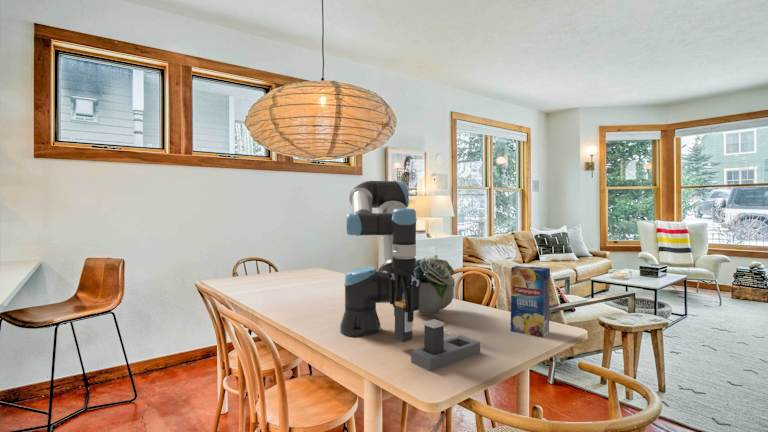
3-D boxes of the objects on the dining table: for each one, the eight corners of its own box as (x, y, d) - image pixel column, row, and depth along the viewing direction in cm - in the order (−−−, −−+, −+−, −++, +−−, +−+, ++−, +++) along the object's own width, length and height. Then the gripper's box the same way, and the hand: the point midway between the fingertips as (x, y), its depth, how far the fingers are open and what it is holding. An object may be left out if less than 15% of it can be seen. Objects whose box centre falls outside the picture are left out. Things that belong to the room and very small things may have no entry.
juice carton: (549, 332, 151) (550, 268, 150) (543, 337, 145) (544, 270, 144) (517, 326, 158) (517, 265, 158) (510, 331, 153) (511, 267, 152)
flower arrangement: (440, 325, 159) (440, 263, 158) (388, 314, 174) (389, 257, 173) (468, 311, 179) (468, 256, 178) (419, 303, 194) (420, 252, 193)
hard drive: (466, 337, 142) (438, 329, 151) (451, 343, 136) (423, 334, 145) (466, 342, 142) (438, 333, 151) (451, 348, 136) (423, 338, 145)
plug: (394, 338, 131) (394, 302, 131) (404, 335, 134) (404, 299, 133) (402, 342, 128) (403, 304, 127) (412, 339, 131) (412, 302, 130)
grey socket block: (411, 365, 120) (411, 350, 120) (460, 349, 134) (460, 335, 134) (430, 374, 114) (430, 358, 114) (480, 356, 128) (480, 342, 128)
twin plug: (424, 361, 121) (424, 321, 120) (433, 358, 123) (434, 319, 123) (433, 366, 118) (434, 325, 117) (443, 362, 120) (444, 322, 120)
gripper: (378, 254, 134) (378, 324, 135) (413, 261, 120) (412, 339, 122) (395, 252, 138) (395, 320, 140) (431, 259, 125) (430, 334, 126)
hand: (403, 329), depth 131 cm, fingers closed on plug, 4 cm apart
